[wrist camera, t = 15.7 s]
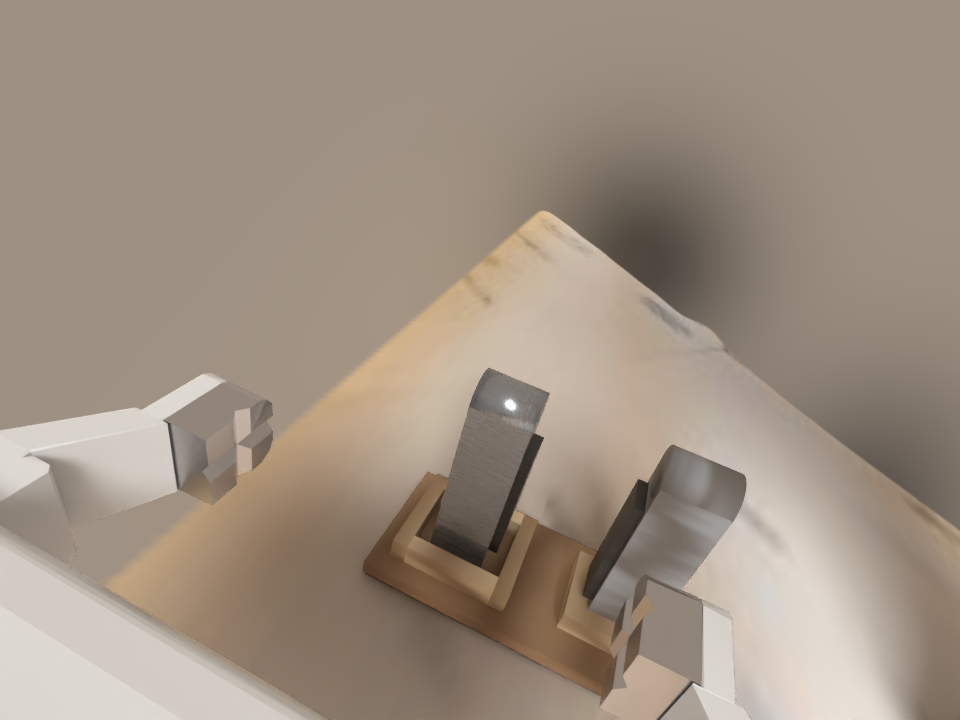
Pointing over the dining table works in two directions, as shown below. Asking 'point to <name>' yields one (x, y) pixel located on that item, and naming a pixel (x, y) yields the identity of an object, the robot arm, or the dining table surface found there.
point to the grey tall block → (489, 466)
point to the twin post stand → (564, 564)
